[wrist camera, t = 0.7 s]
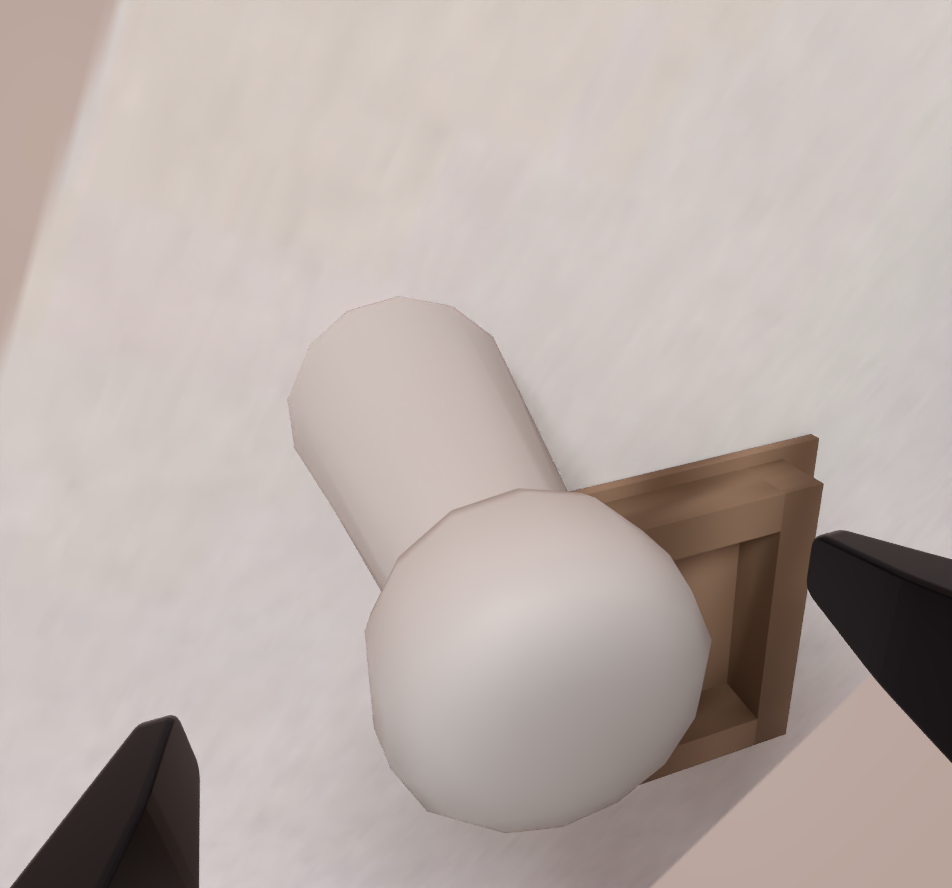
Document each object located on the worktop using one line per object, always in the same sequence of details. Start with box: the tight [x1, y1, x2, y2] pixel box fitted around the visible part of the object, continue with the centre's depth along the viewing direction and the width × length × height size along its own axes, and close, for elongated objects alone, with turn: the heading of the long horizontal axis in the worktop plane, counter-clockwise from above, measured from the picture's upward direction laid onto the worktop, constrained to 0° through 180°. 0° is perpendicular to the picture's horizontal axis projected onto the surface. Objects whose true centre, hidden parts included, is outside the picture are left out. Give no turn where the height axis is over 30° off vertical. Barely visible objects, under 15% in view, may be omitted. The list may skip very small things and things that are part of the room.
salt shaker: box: [288, 296, 712, 833], centre depth 13 cm, size 6×6×13 cm
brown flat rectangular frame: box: [572, 434, 823, 785], centre depth 24 cm, size 15×13×2 cm
